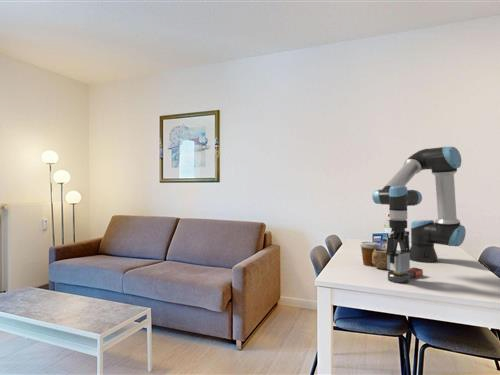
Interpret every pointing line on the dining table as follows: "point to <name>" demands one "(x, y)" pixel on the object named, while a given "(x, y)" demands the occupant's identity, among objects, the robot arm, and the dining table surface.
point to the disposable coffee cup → (368, 252)
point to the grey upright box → (401, 261)
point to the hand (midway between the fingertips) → (398, 268)
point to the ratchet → (404, 275)
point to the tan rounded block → (379, 258)
